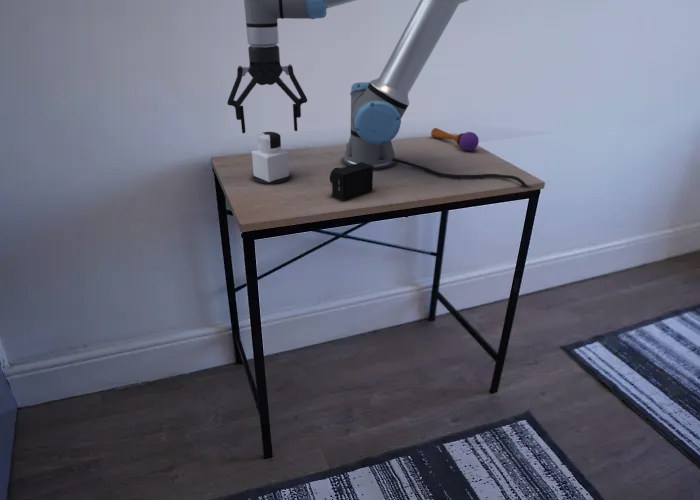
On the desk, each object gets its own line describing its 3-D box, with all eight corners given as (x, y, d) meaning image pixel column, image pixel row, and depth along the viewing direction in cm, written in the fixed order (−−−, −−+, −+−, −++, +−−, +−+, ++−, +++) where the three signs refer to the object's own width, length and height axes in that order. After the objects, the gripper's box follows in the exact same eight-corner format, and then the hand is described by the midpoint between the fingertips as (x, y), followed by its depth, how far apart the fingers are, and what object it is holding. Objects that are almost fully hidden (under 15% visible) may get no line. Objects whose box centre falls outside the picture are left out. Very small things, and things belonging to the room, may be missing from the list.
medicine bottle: (273, 170, 149) (271, 128, 144) (289, 176, 145) (287, 133, 139) (253, 176, 145) (249, 133, 139) (268, 182, 140) (266, 138, 135)
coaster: (295, 173, 148) (295, 172, 148) (281, 186, 140) (281, 184, 139) (263, 170, 151) (262, 168, 150) (247, 181, 142) (247, 180, 142)
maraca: (443, 124, 182) (484, 134, 166) (439, 141, 184) (480, 153, 168) (429, 123, 178) (470, 133, 163) (426, 140, 180) (466, 152, 165)
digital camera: (358, 185, 141) (358, 160, 137) (372, 191, 137) (373, 165, 134) (328, 195, 134) (328, 169, 131) (343, 201, 131) (343, 174, 128)
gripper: (313, 42, 134) (315, 125, 144) (212, 44, 131) (222, 128, 141) (315, 46, 127) (318, 132, 137) (210, 48, 124) (220, 136, 134)
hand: (270, 130), depth 139 cm, fingers open, 13 cm apart
